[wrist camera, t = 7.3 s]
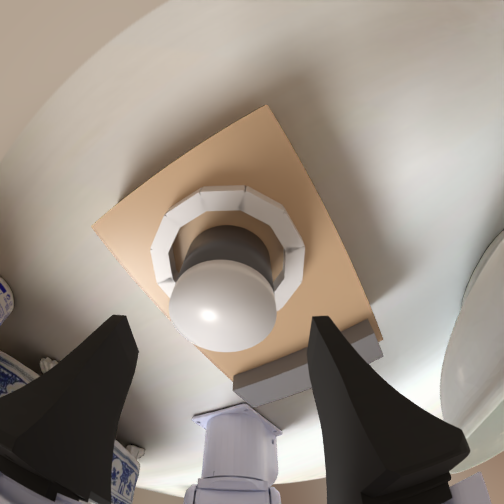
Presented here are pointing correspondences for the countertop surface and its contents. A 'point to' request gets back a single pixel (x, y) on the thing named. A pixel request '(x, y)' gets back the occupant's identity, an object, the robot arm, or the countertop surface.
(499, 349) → the bowl
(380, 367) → the countertop surface
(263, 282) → the white domed push button
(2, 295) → the white and blue canister
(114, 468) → the decorative bowl
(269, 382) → the tan flat ringed block
